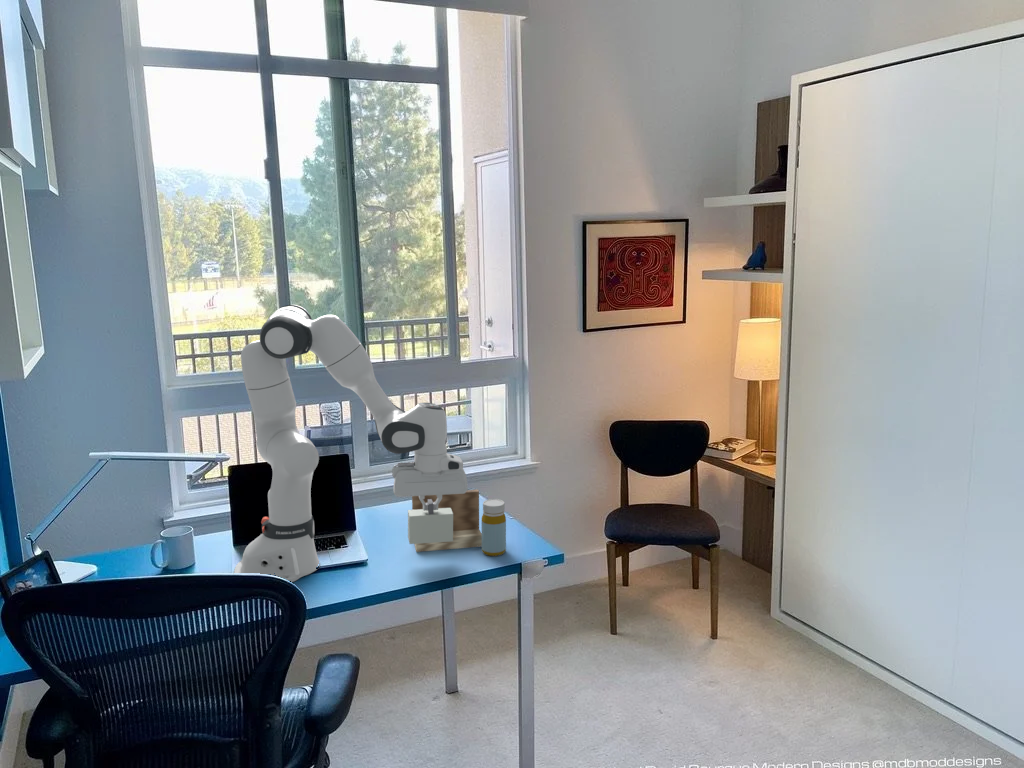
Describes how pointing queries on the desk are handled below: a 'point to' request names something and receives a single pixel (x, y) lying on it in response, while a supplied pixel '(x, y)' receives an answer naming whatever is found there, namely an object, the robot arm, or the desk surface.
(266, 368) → the robot arm
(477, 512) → the wall board
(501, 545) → the bottle
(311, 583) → the desk surface
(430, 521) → the white knobbed block
